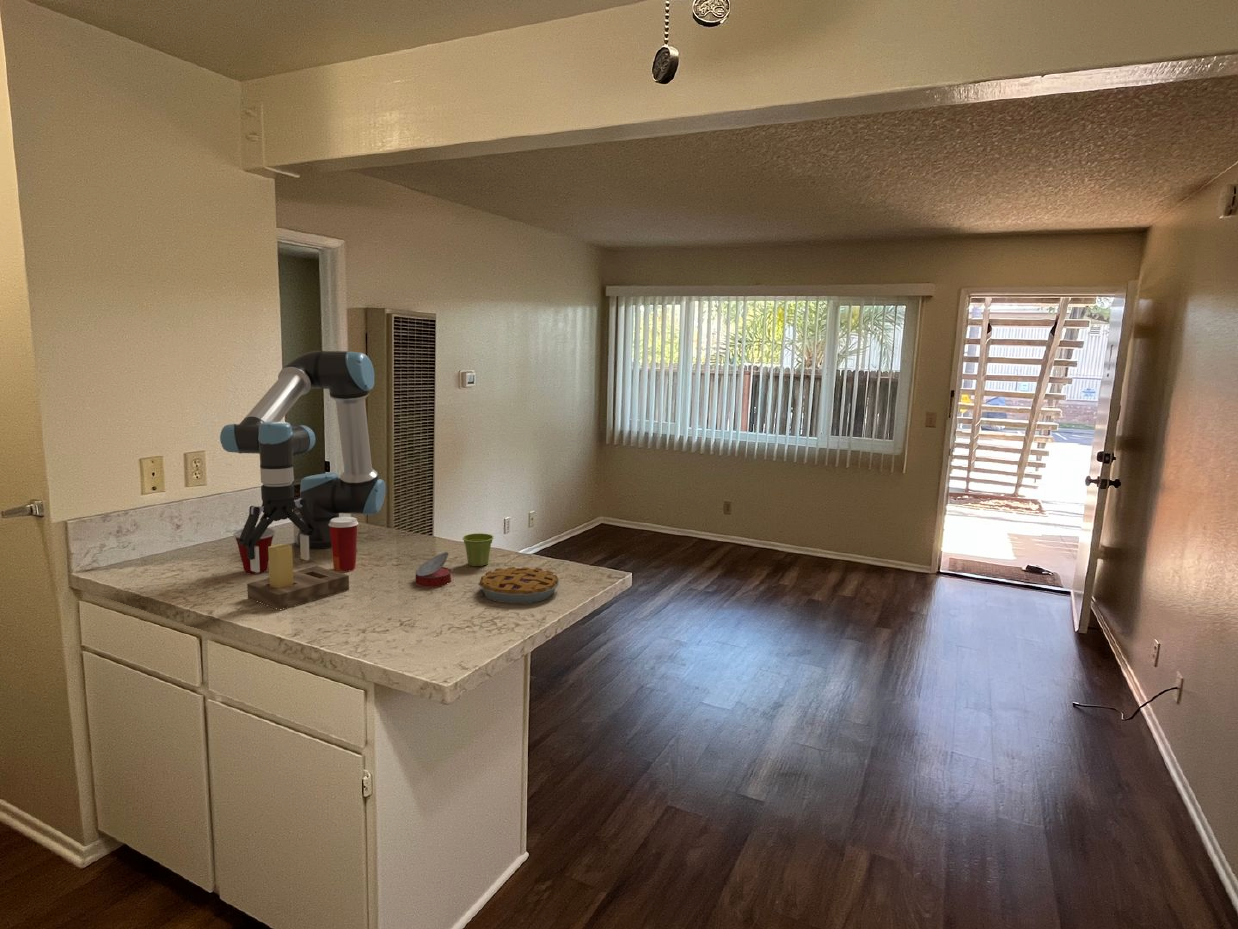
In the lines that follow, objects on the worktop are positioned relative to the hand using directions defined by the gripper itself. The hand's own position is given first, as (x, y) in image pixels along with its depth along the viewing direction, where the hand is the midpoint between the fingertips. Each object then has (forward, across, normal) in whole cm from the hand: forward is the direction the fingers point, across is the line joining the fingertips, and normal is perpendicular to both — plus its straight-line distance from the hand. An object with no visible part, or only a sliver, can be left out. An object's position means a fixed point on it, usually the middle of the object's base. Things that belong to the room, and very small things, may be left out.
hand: (281, 565), depth 182 cm
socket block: (+9, -5, 0) cm, 10 cm away
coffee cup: (+10, -26, -10) cm, 29 cm away
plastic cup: (+9, -9, -27) cm, 30 cm away
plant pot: (+10, -54, +17) cm, 57 cm away
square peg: (+9, 0, 0) cm, 9 cm away
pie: (+10, -42, +44) cm, 62 cm away
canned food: (+10, -34, +19) cm, 40 cm away
